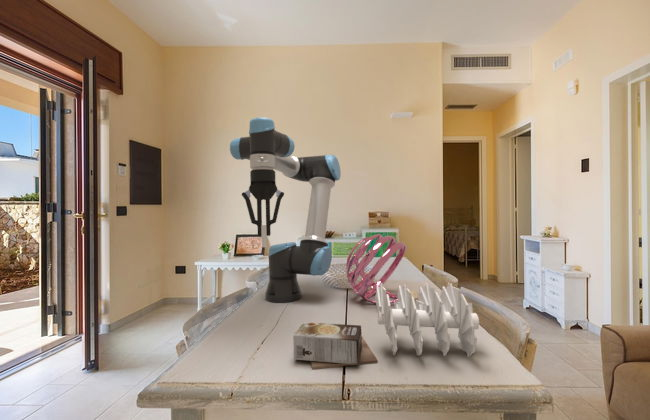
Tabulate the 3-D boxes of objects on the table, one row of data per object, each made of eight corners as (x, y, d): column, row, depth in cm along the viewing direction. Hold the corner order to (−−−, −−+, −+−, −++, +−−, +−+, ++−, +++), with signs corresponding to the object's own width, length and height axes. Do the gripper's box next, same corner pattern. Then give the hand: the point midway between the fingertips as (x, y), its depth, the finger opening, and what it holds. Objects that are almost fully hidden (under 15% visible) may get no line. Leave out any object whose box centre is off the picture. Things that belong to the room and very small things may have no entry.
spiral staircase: (481, 376, 74) (378, 370, 75) (458, 321, 90) (373, 316, 91) (501, 321, 66) (385, 315, 67) (471, 271, 82) (378, 267, 83)
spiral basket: (439, 252, 120) (384, 214, 132) (408, 282, 99) (346, 234, 111) (408, 297, 135) (361, 259, 146) (376, 331, 114) (324, 284, 126)
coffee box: (302, 321, 83) (361, 324, 80) (303, 344, 83) (362, 348, 80) (292, 335, 74) (358, 339, 71) (293, 361, 74) (359, 366, 71)
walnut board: (305, 337, 89) (305, 335, 89) (358, 332, 91) (358, 330, 91) (312, 369, 71) (312, 366, 71) (377, 362, 73) (377, 360, 73)
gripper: (239, 168, 88) (241, 249, 88) (284, 168, 90) (286, 247, 90) (242, 171, 95) (243, 246, 95) (284, 171, 97) (285, 244, 97)
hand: (264, 246), depth 93 cm, fingers closed
